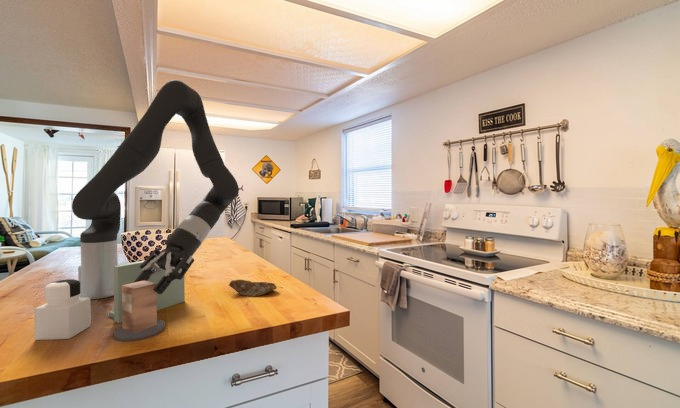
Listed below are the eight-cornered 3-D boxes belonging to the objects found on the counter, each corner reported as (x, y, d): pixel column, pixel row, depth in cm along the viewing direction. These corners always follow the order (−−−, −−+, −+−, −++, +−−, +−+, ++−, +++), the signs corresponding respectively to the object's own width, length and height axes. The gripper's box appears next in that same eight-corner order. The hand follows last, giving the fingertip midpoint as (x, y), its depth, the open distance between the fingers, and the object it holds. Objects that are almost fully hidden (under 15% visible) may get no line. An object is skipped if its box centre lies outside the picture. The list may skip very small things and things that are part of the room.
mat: (102, 339, 70) (102, 334, 70) (137, 321, 80) (137, 317, 80) (143, 342, 68) (143, 338, 68) (174, 323, 78) (174, 319, 78)
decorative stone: (236, 273, 108) (279, 278, 108) (234, 286, 108) (278, 291, 109) (226, 281, 99) (274, 286, 99) (224, 295, 99) (272, 300, 99)
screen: (118, 323, 79) (117, 267, 78) (104, 317, 82) (102, 263, 81) (184, 301, 94) (184, 254, 94) (170, 297, 98) (169, 252, 97)
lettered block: (121, 328, 73) (120, 285, 73) (144, 320, 78) (144, 280, 77) (133, 333, 70) (132, 288, 70) (156, 325, 75) (156, 283, 75)
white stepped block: (60, 327, 76) (58, 277, 76) (91, 326, 77) (90, 277, 76) (34, 340, 69) (32, 286, 69) (69, 339, 70) (67, 285, 69)
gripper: (163, 225, 86) (117, 277, 76) (198, 228, 79) (152, 285, 69) (181, 242, 91) (140, 293, 81) (215, 246, 84) (175, 302, 74)
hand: (146, 289), depth 75 cm, fingers open, 8 cm apart
